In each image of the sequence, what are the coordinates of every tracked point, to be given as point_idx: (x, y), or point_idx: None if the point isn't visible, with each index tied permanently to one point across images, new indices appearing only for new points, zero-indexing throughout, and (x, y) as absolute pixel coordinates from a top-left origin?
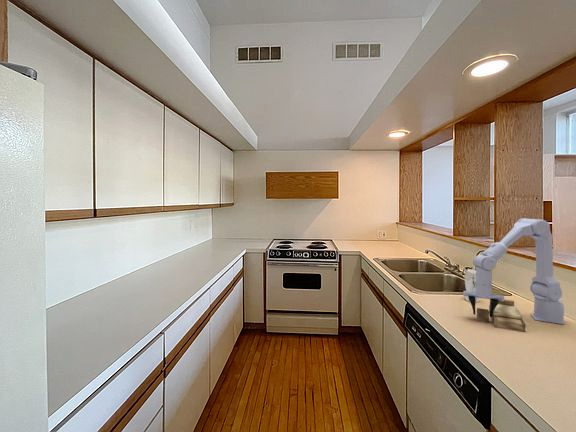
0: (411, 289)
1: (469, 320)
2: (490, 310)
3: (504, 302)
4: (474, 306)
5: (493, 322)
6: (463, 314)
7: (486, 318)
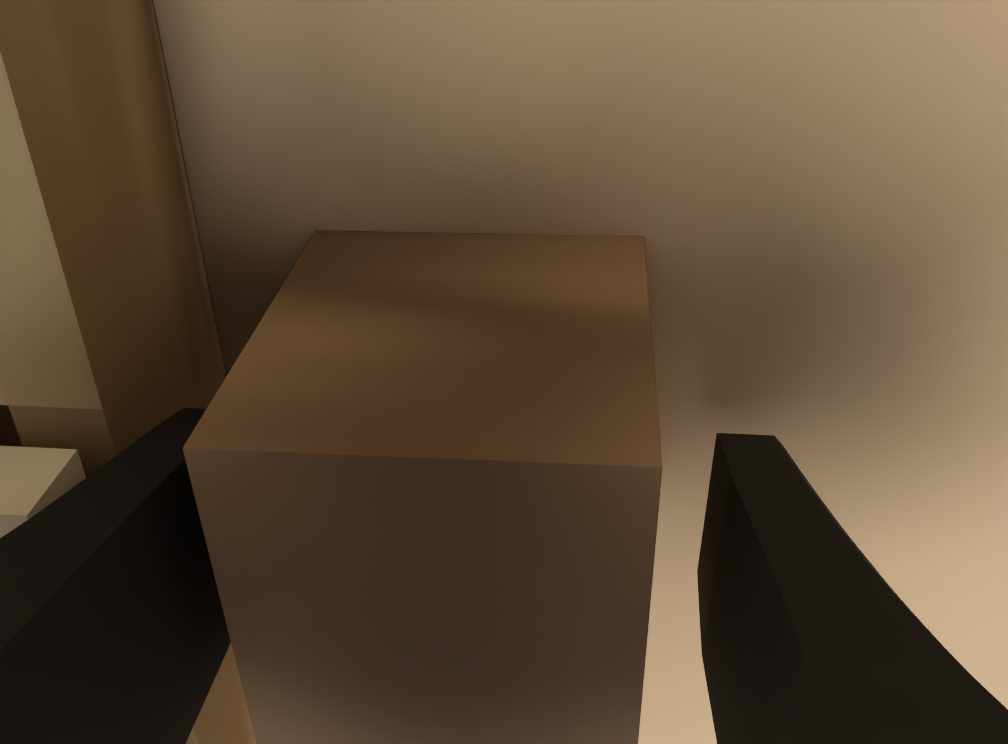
0: None
1: (908, 195)
2: (130, 614)
3: None
4: (849, 669)
5: (148, 161)
6: (950, 619)
7: (352, 299)
